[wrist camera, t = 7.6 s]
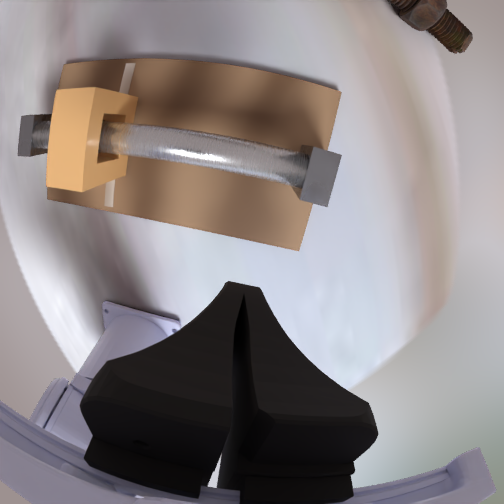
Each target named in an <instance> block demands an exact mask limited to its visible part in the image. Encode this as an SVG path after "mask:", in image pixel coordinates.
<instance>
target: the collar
mask: <svg viewBox="0 0 504 504" xmlns="http://www.w3.org/2000/svg"><path fill="white" fill-rule="evenodd" d="M137 101H138V97H136V96H132V95H128V94H124V93H120V92H116V91H111V90H107V89H102V88H98V87H87V88H71V89H60V90H56V95H55V100H54V106H53V112H52V118H51V126H50V134H49V143H48V155H47V172H46V186H47V187H53V188H59V189H66V190H72V191H78V192H84V191H87V190H89V189H92V188H94V187H97V186H99V185H102V184H104V183H107V182H110V181H112V180H115V179H118V178H120V177H123V176H126V169H127V161H128V155H119V154H111V153H101V152H100V153H98V149H99V141H100V134H101V127H102V121H103V120H105V121H106V122H123V123H133V122H134V116H135V111H136V106H137Z"/></svg>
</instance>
